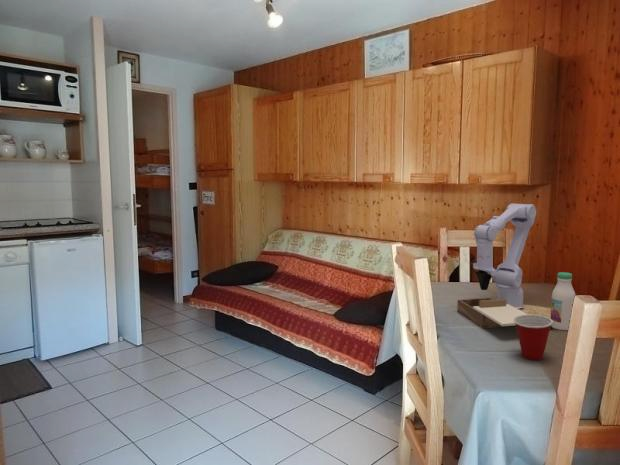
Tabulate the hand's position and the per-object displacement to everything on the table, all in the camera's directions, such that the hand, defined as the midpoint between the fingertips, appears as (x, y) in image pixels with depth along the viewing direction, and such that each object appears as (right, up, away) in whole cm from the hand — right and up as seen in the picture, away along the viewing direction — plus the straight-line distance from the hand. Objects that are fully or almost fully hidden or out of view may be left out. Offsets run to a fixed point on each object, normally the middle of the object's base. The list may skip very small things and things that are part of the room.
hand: (484, 289), depth 177 cm
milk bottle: (+23, -12, -15) cm, 30 cm away
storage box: (0, -11, -3) cm, 11 cm away
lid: (+1, -7, -16) cm, 18 cm away
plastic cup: (0, -16, -39) cm, 42 cm away
